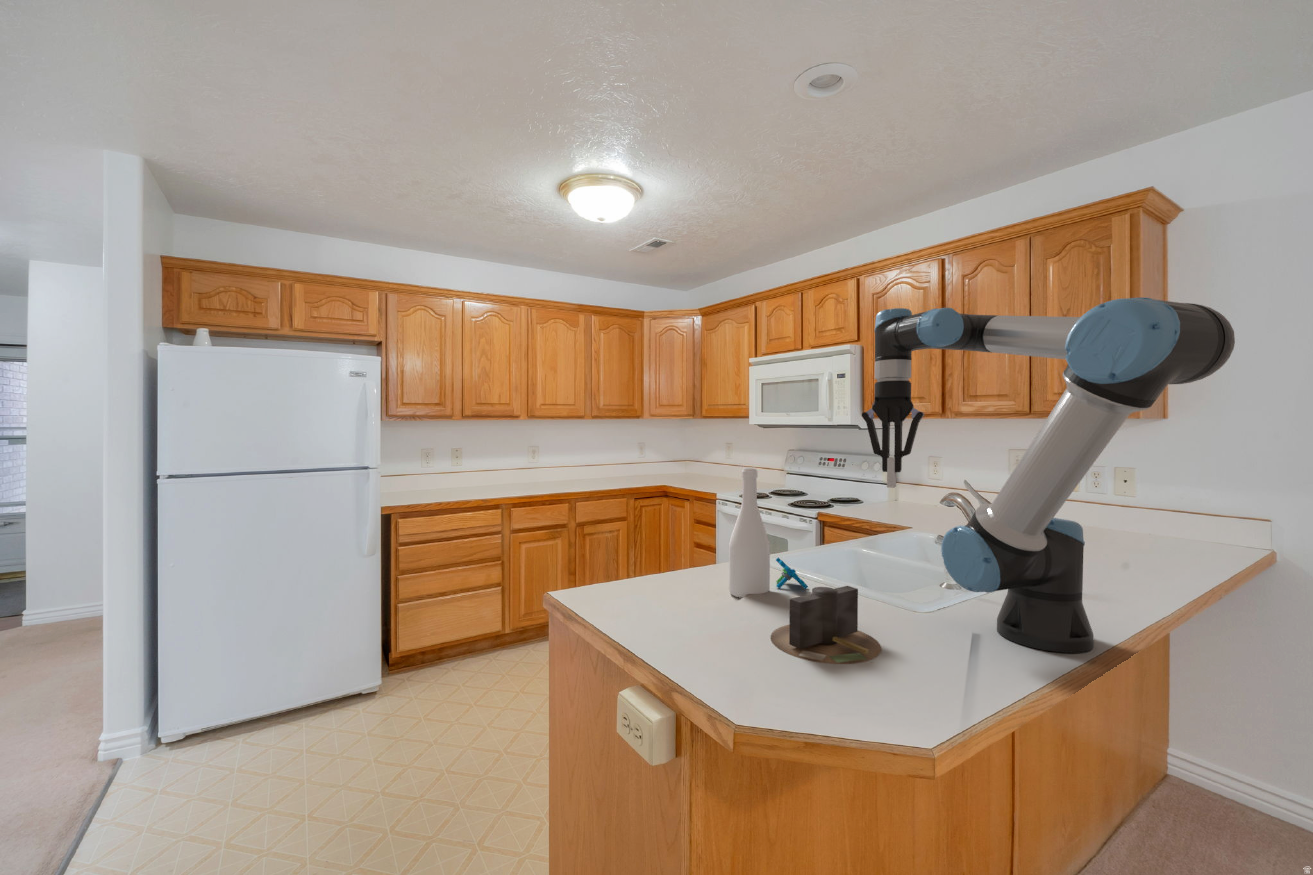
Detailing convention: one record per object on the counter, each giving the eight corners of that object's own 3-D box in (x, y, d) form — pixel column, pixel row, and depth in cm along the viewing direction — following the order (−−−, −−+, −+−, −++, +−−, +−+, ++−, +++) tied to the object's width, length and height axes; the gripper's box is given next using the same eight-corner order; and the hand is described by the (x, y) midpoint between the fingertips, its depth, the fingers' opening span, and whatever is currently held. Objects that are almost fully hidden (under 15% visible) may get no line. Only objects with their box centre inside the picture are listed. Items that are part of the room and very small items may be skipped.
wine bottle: (721, 591, 137) (721, 467, 137) (754, 586, 141) (754, 465, 141) (743, 602, 129) (743, 470, 128) (777, 597, 133) (778, 468, 132)
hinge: (842, 628, 108) (843, 581, 108) (894, 648, 98) (895, 596, 98) (785, 644, 100) (785, 593, 100) (836, 668, 90) (836, 612, 90)
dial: (889, 642, 105) (889, 633, 105) (869, 682, 89) (869, 672, 89) (789, 623, 115) (789, 615, 115) (754, 656, 99) (754, 647, 99)
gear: (813, 588, 134) (783, 557, 135) (796, 605, 134) (765, 575, 135) (804, 581, 145) (775, 553, 146) (788, 598, 145) (759, 569, 146)
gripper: (927, 380, 126) (925, 487, 126) (865, 382, 132) (864, 483, 133) (923, 378, 119) (921, 490, 120) (858, 380, 126) (857, 486, 127)
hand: (891, 486), depth 127 cm, fingers closed
